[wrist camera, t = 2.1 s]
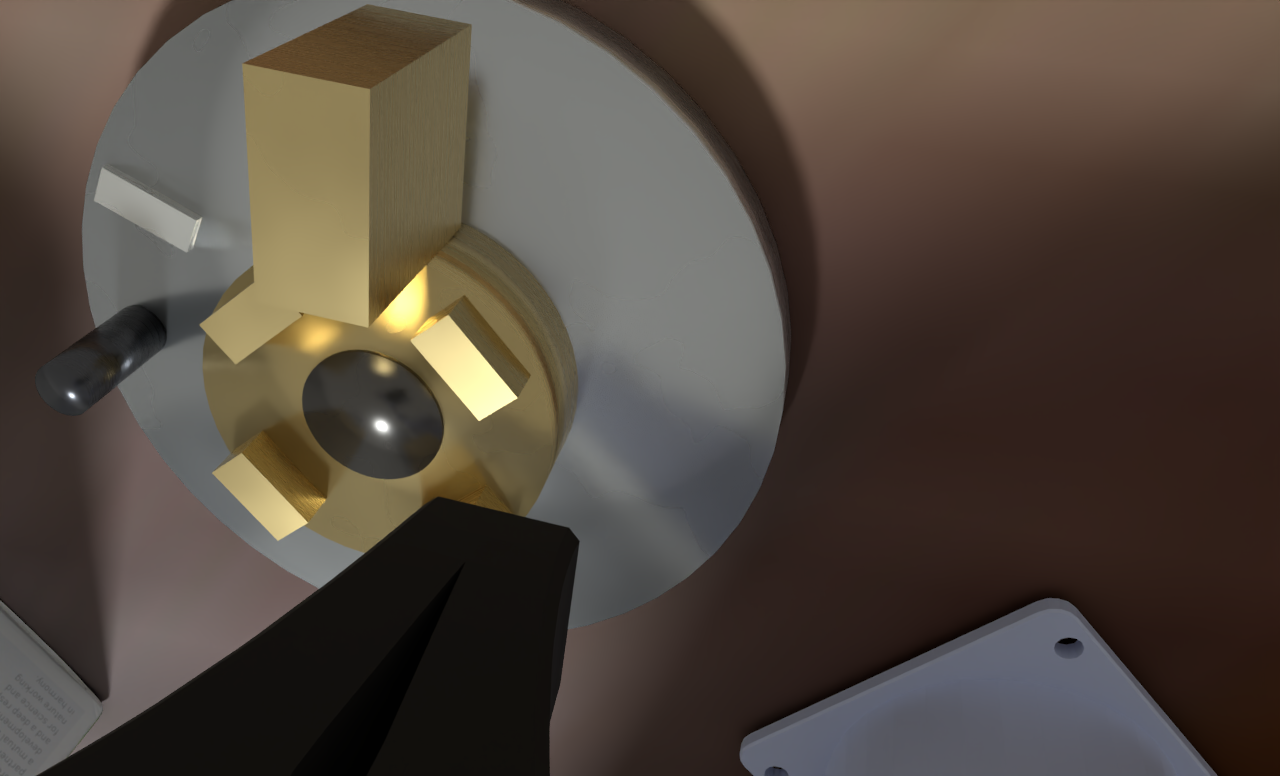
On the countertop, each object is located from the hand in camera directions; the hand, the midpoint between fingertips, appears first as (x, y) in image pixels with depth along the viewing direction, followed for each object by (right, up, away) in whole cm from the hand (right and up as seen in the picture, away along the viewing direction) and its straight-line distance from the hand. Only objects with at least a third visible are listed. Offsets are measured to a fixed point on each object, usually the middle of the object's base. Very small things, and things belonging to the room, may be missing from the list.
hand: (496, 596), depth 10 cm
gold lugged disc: (-2, +3, +9) cm, 10 cm away
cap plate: (-2, +3, +11) cm, 11 cm away
